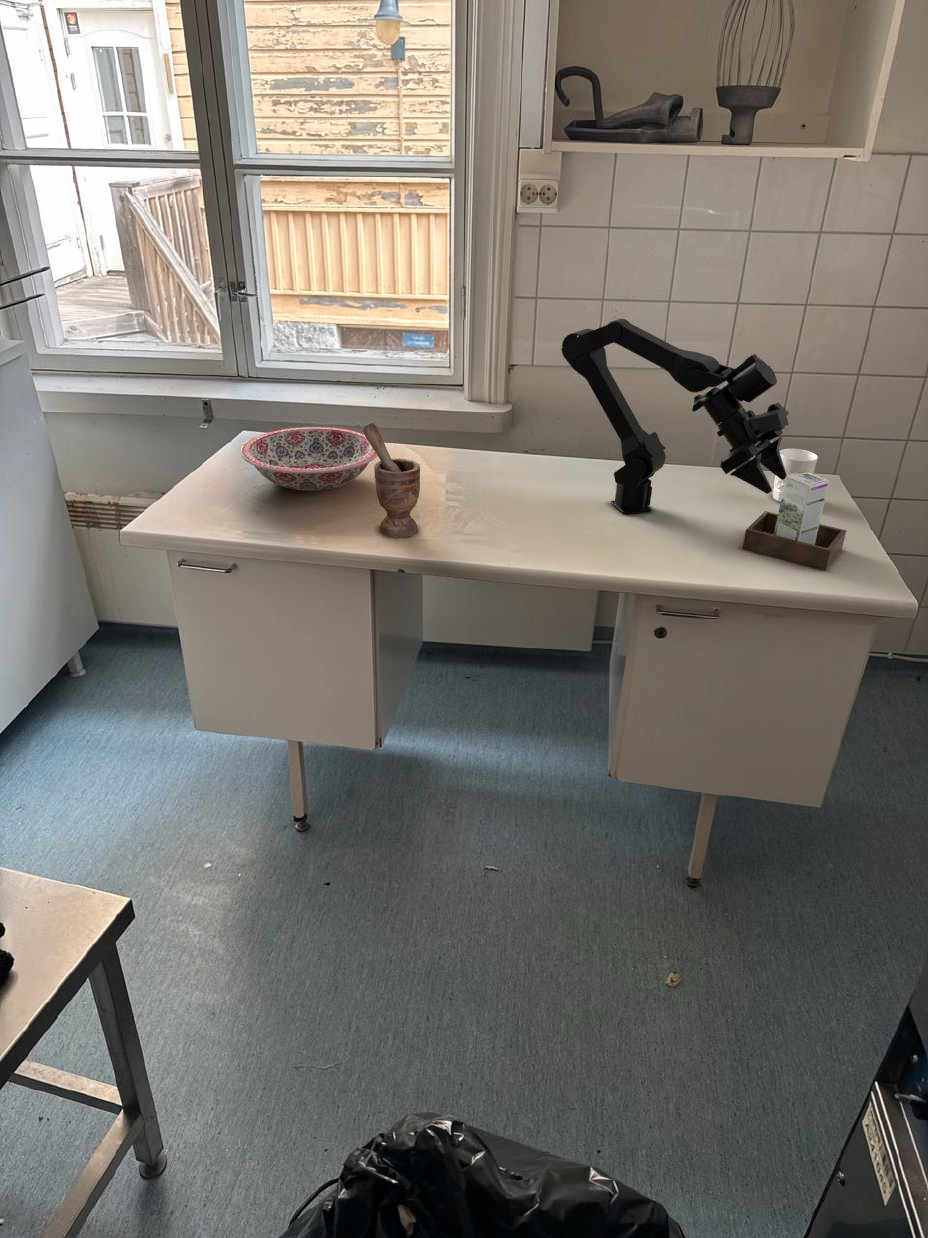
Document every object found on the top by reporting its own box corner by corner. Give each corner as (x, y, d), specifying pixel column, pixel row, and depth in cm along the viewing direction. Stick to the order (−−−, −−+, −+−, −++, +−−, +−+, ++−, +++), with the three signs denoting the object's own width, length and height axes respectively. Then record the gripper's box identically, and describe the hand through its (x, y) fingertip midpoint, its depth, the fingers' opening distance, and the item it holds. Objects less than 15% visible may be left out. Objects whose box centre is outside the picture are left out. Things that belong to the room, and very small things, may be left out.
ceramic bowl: (218, 479, 196) (214, 443, 192) (330, 452, 213) (328, 418, 209) (292, 520, 177) (290, 481, 173) (408, 487, 195) (408, 451, 191)
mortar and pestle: (354, 534, 172) (351, 432, 163) (368, 517, 180) (366, 418, 170) (413, 541, 170) (413, 438, 161) (424, 523, 178) (425, 424, 168)
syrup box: (814, 551, 172) (831, 479, 164) (793, 558, 169) (810, 484, 162) (790, 540, 176) (806, 469, 169) (769, 546, 173) (784, 474, 166)
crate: (741, 548, 172) (745, 529, 170) (761, 529, 180) (765, 510, 178) (825, 570, 164) (830, 550, 162) (841, 549, 173) (846, 530, 171)
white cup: (807, 495, 197) (818, 451, 193) (807, 508, 191) (818, 462, 186) (770, 490, 200) (779, 446, 195) (768, 502, 193) (778, 457, 188)
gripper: (749, 402, 157) (800, 476, 157) (781, 381, 170) (828, 449, 170) (698, 437, 164) (747, 508, 164) (733, 414, 178) (778, 480, 178)
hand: (777, 485), depth 169 cm, fingers open, 9 cm apart
